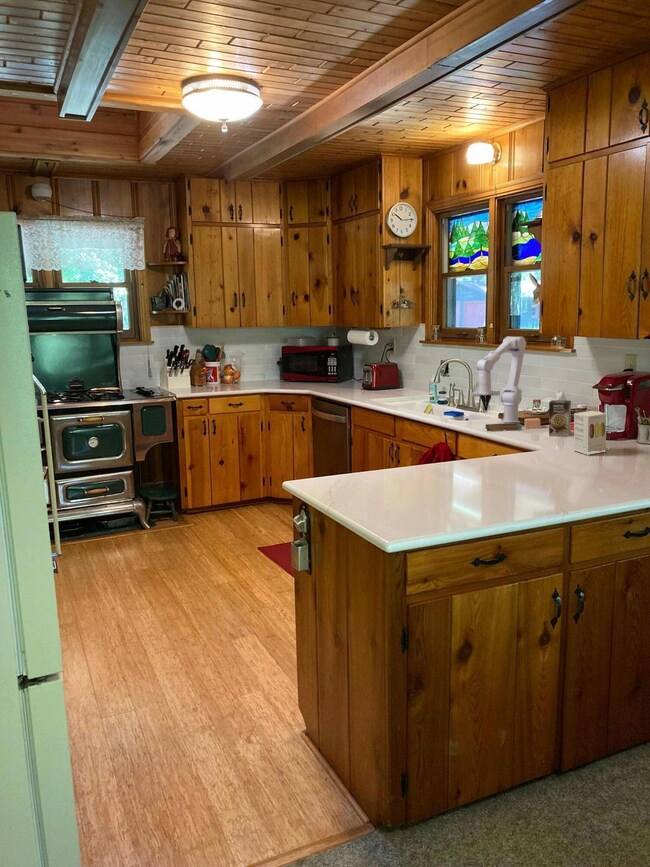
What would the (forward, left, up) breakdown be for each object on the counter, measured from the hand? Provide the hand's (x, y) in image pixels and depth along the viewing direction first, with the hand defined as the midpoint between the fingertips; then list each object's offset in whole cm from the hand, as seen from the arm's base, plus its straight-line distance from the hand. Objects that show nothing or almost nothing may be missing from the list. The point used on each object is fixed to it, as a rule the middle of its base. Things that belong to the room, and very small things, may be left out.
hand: (485, 410), depth 353 cm
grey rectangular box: (+22, +32, -10) cm, 40 cm away
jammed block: (+4, +22, -10) cm, 24 cm away
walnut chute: (+4, +8, -9) cm, 13 cm away
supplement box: (+56, +38, -10) cm, 68 cm away
